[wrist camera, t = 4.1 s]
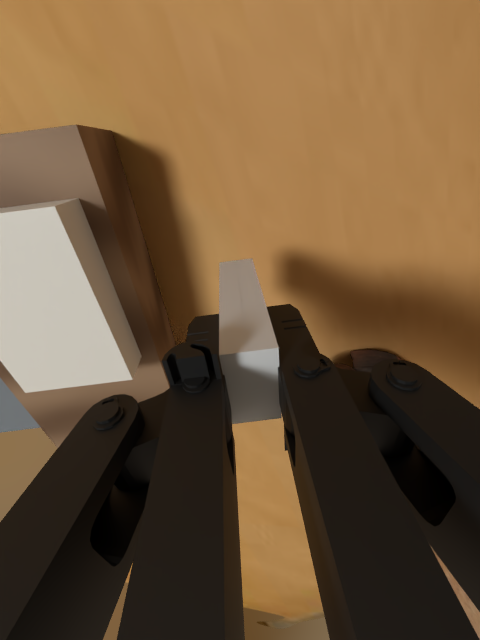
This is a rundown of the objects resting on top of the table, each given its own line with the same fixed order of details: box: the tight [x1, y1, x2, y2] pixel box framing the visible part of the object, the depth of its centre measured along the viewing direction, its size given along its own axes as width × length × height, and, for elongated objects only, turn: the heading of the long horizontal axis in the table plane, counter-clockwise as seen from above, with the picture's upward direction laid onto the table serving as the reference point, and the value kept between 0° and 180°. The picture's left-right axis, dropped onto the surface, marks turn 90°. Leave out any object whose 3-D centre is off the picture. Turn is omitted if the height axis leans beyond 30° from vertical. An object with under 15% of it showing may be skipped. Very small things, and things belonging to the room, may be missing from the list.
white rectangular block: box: [0, 198, 142, 393], centre depth 13 cm, size 9×6×2 cm, turn 6°
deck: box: [0, 125, 176, 448], centre depth 17 cm, size 20×10×4 cm, turn 6°
